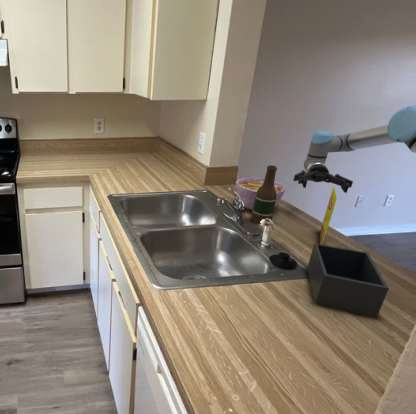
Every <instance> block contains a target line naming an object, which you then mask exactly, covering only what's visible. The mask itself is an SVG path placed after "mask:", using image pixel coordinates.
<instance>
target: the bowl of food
mask: <svg viewBox="0 0 416 414" xmlns="http://www.w3.org/2000/svg"><path fill="white" fill-rule="evenodd" d="M264 179H265V178H261V177H244V178H239V179H237V180H236V182H235V188H236V194H237V193H238V194H239V196H240V197H241V199H242V201H243V203H244V205H245V207H244V209H247V210H250V211H253V206H254V201H255V196H256V193H257V190H258V189H259V187H261V186H262V185H263V182H264ZM274 188H275V190H276V194H277V197H276V203H275V207H274V209H275V208H276V207H277V206H278V204H279V203H280V201H281V200H282V197H283V196H284V193H285V192H286V190H287V189H286V186H285V185H284V184H282V183H280V182H279V181H276V180H275V181H274Z"/></svg>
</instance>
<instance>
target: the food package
mask: <svg viewBox="0 0 416 414" xmlns="http://www.w3.org/2000/svg"><path fill="white" fill-rule="evenodd" d="M336 202H337V194H336V189H335V185H333V187H332V190H331V194H330V197H329V200H328V204H327V207H326V210H325V214H324V216H323V220H322V223H321V227H320V231H319V244H322V245H324V242H325V239H326V235H327V232H328V228H329V225H330V222H331V219H332V215H333V212H334V209H335V206H336Z"/></svg>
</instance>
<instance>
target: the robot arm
mask: <svg viewBox="0 0 416 414" xmlns="http://www.w3.org/2000/svg"><path fill="white" fill-rule="evenodd" d="M394 143H401V144H403V143H404V145H405V146H406V147H407V148H408V149H409V150H410V152H411V153H415V154H416V105H415V104H414V105H409V106H406V107H403V108H400V109H398V110H397V111H396V112H395V113H394V114H393V115H392V116H390V119H389V121H388V124H385V125H381V126H377V127H373V128H368V129H363V130H360V131H356V132H355V131H354V132H351V133H350V132H349V133H346V134H340V135H334V134H333V133H332V132H331V131H325V130H317V131H314V132H313V134H312V136H311V139H310V144H309V149H308V152H307V155H306V158H305V160H304V162H303V168H304V169H303V170H301V171H300V172H298V173H296V174H294V176H293V180H292V181H293V182H297V184H299V185H302V188H303V189H306V188H307V185H308V182H309V181H310V182H313V183H321V182H325V183H327V184H330V183H331V184H333V185H336V186H339V187H340V188H341V190H342V191H343V193H344V194H348V190H349V188H350V189H351V188H352V186H353V183H354V180H351V179H349V178H347V177H344V176H342V175H340V174H339V173H336V174H334V175H333V173H330V171H329V169H328V167H327V166H326V162H327V161H326V160H327V158H328V154H330V153H345V152H346V153H347V152H348V153H349V152H353V151H356V150H361V149H365V148H367V149H368V148H371V147H379V146H384V145H390V144H394Z"/></svg>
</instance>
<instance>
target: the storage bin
mask: <svg viewBox="0 0 416 414" xmlns="http://www.w3.org/2000/svg"><path fill="white" fill-rule="evenodd" d="M306 271H307V275H308V278H309V284H310V288H311V291H312V296H313V300H314V304H315V305H318V306H324V307H327V308H332V309H336V310H340V311H346V312H349V313H353V314H354V313H355V314H358V315H363V316H365V317H366V316H367V317H371V318H374V319H375V318H376V319H377V318H378V316H379V313H380V311H381V309H382V306H383V304H384V302H385V299H386V296H387V294H388V292H389V289H390V287H389V286H388V284H387V281H386V280H385V279H384V277H383V276H382V273H381V272H380V270H379V269H378V267H377V265H376V264H375V262H374V260H373V258H372V256H371V255H370V253H369V252H367V251H362V250H357V249H350V248H345V247H340V246H333V245H327V244H323V245H322V244H320V243H316V242H315V243H313V247H312V249H311V253H310V257H309V260H308V264H307V267H306Z"/></svg>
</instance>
